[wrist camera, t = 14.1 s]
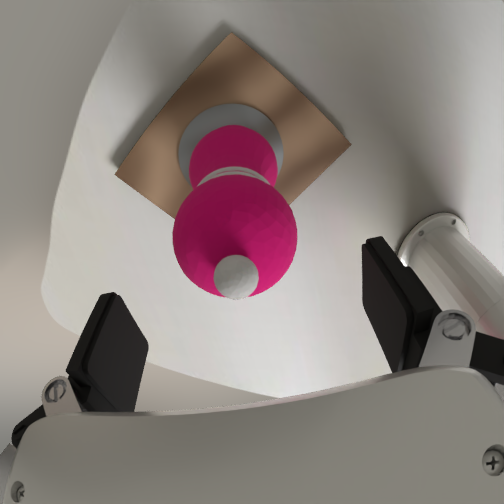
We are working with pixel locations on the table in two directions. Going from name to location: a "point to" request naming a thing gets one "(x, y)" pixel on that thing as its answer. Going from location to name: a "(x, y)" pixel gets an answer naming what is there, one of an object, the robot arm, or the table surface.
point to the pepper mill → (234, 216)
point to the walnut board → (232, 113)
